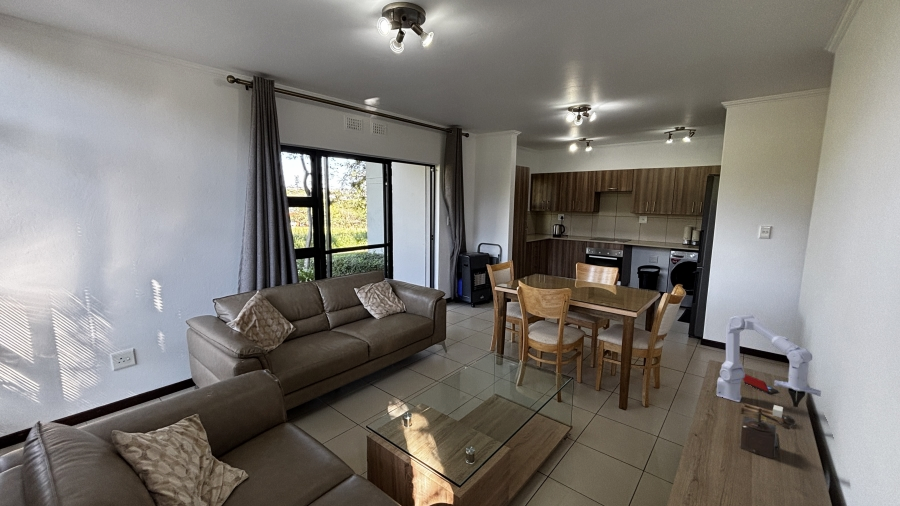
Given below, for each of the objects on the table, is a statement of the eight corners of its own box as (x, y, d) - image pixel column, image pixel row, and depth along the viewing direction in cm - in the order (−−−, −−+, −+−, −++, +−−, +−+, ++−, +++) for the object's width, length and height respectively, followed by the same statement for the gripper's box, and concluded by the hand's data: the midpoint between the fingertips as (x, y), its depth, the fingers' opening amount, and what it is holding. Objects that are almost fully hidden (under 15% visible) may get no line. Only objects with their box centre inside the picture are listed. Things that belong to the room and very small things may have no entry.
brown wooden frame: (740, 413, 170) (741, 407, 169) (742, 408, 174) (743, 402, 174) (787, 427, 158) (787, 421, 158) (788, 421, 163) (788, 415, 162)
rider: (772, 419, 162) (773, 409, 162) (773, 415, 166) (774, 404, 165) (781, 422, 160) (782, 411, 159) (782, 417, 163) (783, 407, 163)
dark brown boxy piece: (739, 448, 144) (742, 406, 143) (741, 436, 152) (744, 395, 151) (792, 466, 134) (796, 420, 132) (792, 452, 142) (795, 408, 140)
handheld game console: (779, 392, 189) (780, 379, 188) (763, 395, 187) (764, 381, 186) (754, 382, 201) (754, 369, 200) (739, 384, 199) (739, 371, 198)
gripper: (774, 374, 159) (772, 403, 160) (821, 384, 149) (819, 416, 150) (776, 369, 164) (774, 397, 165) (821, 379, 154) (819, 409, 155)
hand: (795, 406), depth 158 cm, fingers closed
